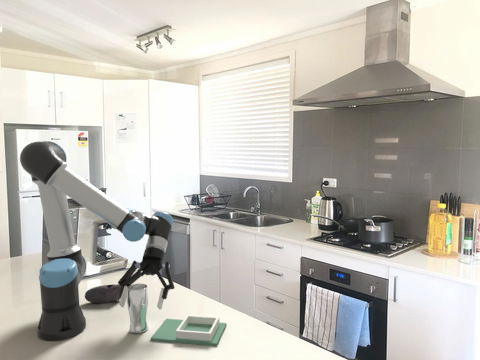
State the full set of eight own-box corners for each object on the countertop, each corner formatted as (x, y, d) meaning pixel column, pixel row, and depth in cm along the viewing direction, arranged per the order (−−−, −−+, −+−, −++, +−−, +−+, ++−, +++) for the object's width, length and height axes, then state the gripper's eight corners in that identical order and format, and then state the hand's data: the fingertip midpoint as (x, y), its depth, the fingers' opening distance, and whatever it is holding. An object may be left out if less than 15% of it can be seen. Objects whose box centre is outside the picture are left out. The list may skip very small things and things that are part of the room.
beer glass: (141, 323, 139) (139, 281, 138) (153, 329, 135) (151, 286, 134) (124, 330, 134) (122, 287, 133) (135, 336, 130) (134, 292, 128)
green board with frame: (150, 340, 127) (150, 330, 127) (166, 320, 141) (166, 311, 141) (216, 346, 123) (216, 335, 123) (226, 325, 137) (226, 316, 137)
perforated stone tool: (82, 305, 155) (81, 288, 155) (87, 300, 161) (86, 283, 160) (121, 304, 156) (120, 287, 156) (124, 298, 161) (123, 282, 161)
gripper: (189, 256, 147) (178, 313, 134) (127, 254, 152) (110, 308, 139) (184, 247, 142) (172, 304, 129) (120, 245, 146) (101, 300, 133)
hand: (140, 306), depth 134 cm, fingers open, 13 cm apart
